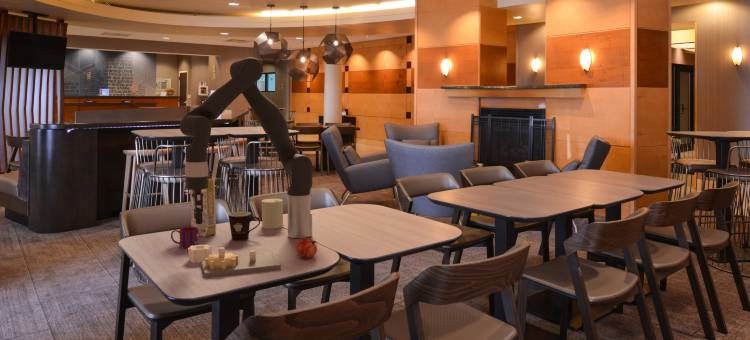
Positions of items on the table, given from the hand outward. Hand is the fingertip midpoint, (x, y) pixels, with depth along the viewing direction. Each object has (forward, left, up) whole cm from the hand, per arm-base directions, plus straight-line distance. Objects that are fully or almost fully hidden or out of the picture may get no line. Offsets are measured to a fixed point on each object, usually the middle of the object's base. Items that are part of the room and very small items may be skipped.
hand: (198, 221), depth 190 cm
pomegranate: (-35, +10, -14) cm, 39 cm away
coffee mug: (-18, -23, -14) cm, 32 cm away
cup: (+4, -20, -14) cm, 25 cm away
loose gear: (0, 0, -14) cm, 14 cm away
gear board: (-12, +13, -14) cm, 22 cm away
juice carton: (-4, -36, -14) cm, 39 cm away
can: (-33, -40, -14) cm, 54 cm away
